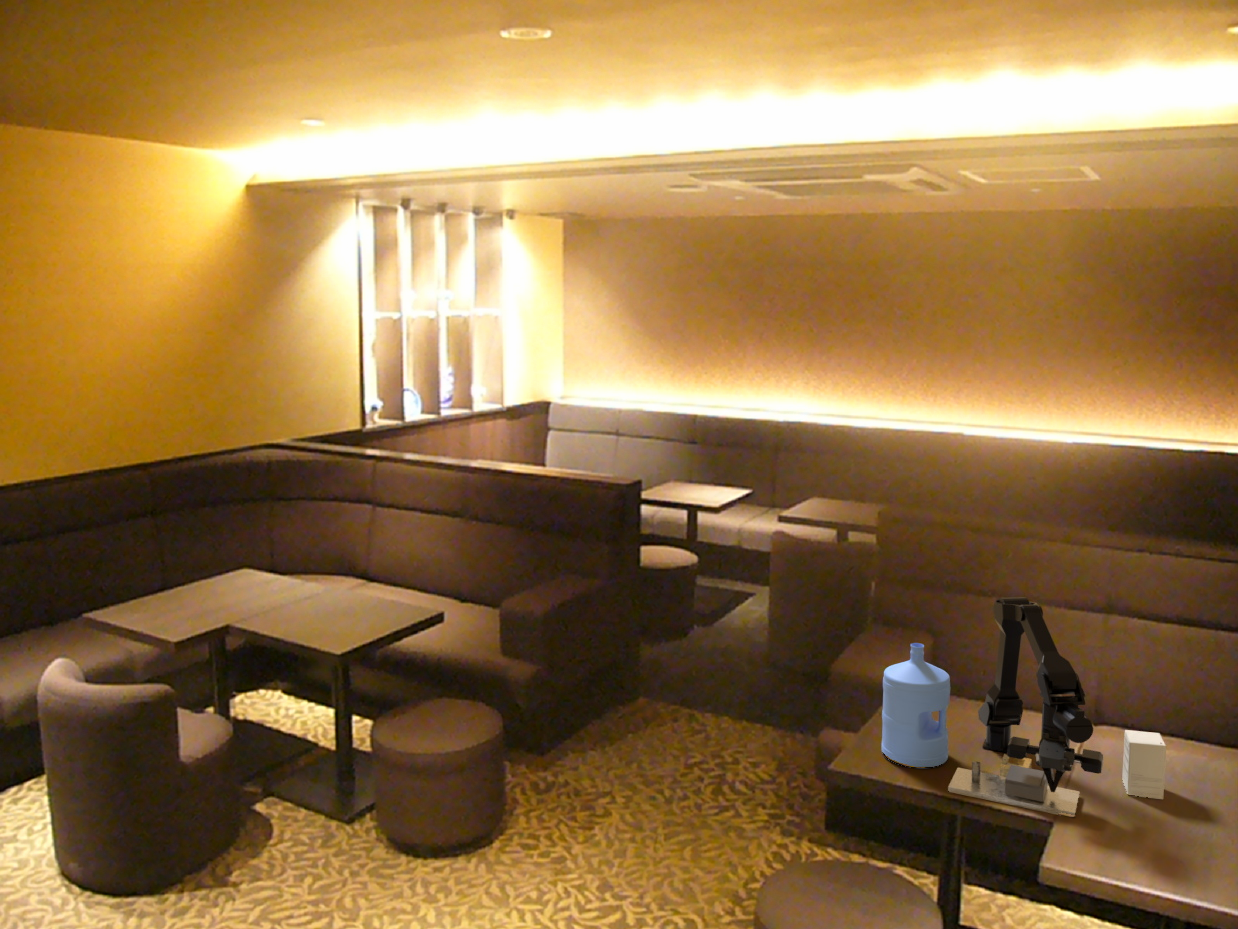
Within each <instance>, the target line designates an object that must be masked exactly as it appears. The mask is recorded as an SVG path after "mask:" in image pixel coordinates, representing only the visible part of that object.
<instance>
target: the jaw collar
mask: <svg viewBox="0 0 1238 929" xmlns="http://www.w3.org/2000/svg"><path fill="white" fill-rule="evenodd" d="M1032 761H1033V760H1032V758H1028V757H1025V758H1023V759H1017V758H1011V757H1008V756H1007V753H1004V754H1003V757H1002V759H1001V761H1000V767H999V768H1000V769H999V776H1004V777H1006V776H1007V774H1008V771H1009V768H1010V766H1011V765H1014V766H1020V767H1025V768H1030V769H1032Z"/></svg>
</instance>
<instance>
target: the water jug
mask: <svg viewBox="0 0 1238 929" xmlns="http://www.w3.org/2000/svg"><path fill="white" fill-rule="evenodd" d="M924 648H925V645H924V644H923V643H919V642H913V643H910V652H909V653H910V658H909V660H906V661H902V662H899V663H895V664H892V665H889V666H888V667H886V668H885V669H884V671H883V678H882V691H883V693H882V694H883V695H882V711H881V718H882V719H881V721H882V733H881V737H882V738H881V753H882V752H883V753H884V754H885V755H886V756H888V757H889V758H890V759H892V760H895V761H897V762H899V763H903V764H907V765H909V766H914V767H933V768H935V767H934V766H937V767H939V765H940V766H942V765H944V764H945V763H946V762H947V760H948V759H949V729H948V728H947V721H948V720H947V715H948V714H947V712H948V711H947V710H948V707H949V705H950V695H951V681H950V680H951V677H950V675H949V673H948V672H946V671H945V670H944V669H942V668H939V667H937V666H935V665H934V664H931V663H929V662H926V661H925V659H924V655H925V651H924ZM934 712H938V721H937V720H935V719H934V717H933V713H934ZM883 753H882V754H883ZM941 764H942V765H941Z"/></svg>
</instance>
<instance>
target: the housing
mask: <svg viewBox="0 0 1238 929" xmlns="http://www.w3.org/2000/svg"><path fill="white" fill-rule="evenodd" d="M1047 787H1048V781H1047V778H1046V775H1045V773H1044V771H1043V770H1039V769H1034V768H1031V769H1030V768H1025V767H1020V766H1014V765H1011V766H1010V768H1009V771H1008V774H1007V776H1006V779H1005V794H1007V795H1012V796H1017V797H1022V798H1026V799H1031V800H1036V801H1041V802H1043V801H1044V797H1045V794H1046V790H1047Z"/></svg>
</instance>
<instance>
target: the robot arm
mask: <svg viewBox="0 0 1238 929" xmlns="http://www.w3.org/2000/svg"><path fill="white" fill-rule="evenodd" d="M1043 610H1044V609H1043V608H1042V606H1041V605H1038V603H1037V602H1033V601H1029V599H1028V598H1027V597H1025V596H1024V597H1023V596H1019V597H1018V596H1017V597H1016V596H1014V597H999V598H998V599H996V600H995V601H994V603H993V607H992V611H993V617H994V621H995V623H996V624H997V626H998V628H999V639H998V641H999V642H998V649H997V660H996V671H995V680H994V684H993V685H992V686H991V687H990V689H989V690H988V691H987V692H986V694H985V695H986V696H985V700H984V703H983V704H982V705H981V706H980V707H979V709H978V710H977V712H978V713H977V714H978V720H979V721H980V722H981V723H982V724H983V725H984V726H985V727H986V729H985V730H986V733H985V739H984V742H983V743H982V747H981V748H983V749H987V750H992V751H998V752H1003V753H1006V754H1007V756H1008V757H1011V758H1017V759H1023V758H1027V755H1033V756H1035V758H1036V759H1035V761H1034V762H1035V763H1034V764H1035V765H1036V766H1038V767H1040V768H1041V769H1042V771H1044V773H1045V775H1046V778H1047V781H1048V785H1049V788H1050V791H1051V792H1055V790H1056V788H1057V787H1059V786H1058V785H1059V783H1060V781H1061V778H1062V777H1063V775H1064V774H1065V773H1066V772H1071V771H1072V769H1073V766H1074V765H1075V763H1077V764H1080V768H1081V769H1082V770H1083V771H1084V772H1088V773H1091V774H1102V770H1103V769H1102V768H1103V764H1104V762H1103V761H1104V754H1103V753H1102V752H1101V751H1096V750H1092V749H1086V748H1083V749H1082V753H1078V752H1076V751H1075V749H1076V748H1074V747H1073V748H1072V747H1070V746H1071V745H1070V743H1071V742H1073V743H1074V744H1075V743H1076V744H1082V743H1085V742H1087V741H1088V740H1090V738H1091V737H1092V736H1093V734H1094V726H1093V723H1092V721H1091V720H1090V719H1089V718H1087V717H1086V716H1085V711H1084V710H1083V709H1082V708H1080V707H1079V706H1086V700H1085V697H1086V693H1085V692H1084V689H1083V685H1082V683H1081V680H1080V678H1079V675H1078V673H1077V672H1076V671H1075V668H1074V667H1073V666H1072V663H1071V662H1070V661H1069V660H1067V659H1066V658H1065V657H1064V656H1062V655H1061V654H1060V652H1059V649H1058V648H1057V646H1056V643H1055V641H1054V638H1053V636H1052V633H1051V632H1050V630H1049V627H1048V625H1047V623H1046V621H1045V618H1044V611H1043ZM1024 633H1025V636H1026V639H1027V640H1028V643H1029V645H1030V647H1031V650H1032V652H1033V655H1034V657H1035V660H1036V663H1037V665H1038V667H1037V670H1036V673H1035V675H1036V680H1037V681H1036V682H1037V685H1038V688H1039V691H1040V693H1039V696H1040V697H1041V698H1042V711H1041V712H1042V713H1041V729H1040V730H1041V732H1040V736H1041V737H1040V740H1039V742H1038V745H1034V744H1033V745H1031V743H1030V738H1024V737H1019V736H1012V726H1020V725H1021V721H1022V716H1023V712H1024V707H1023V704H1024V702H1023V700H1022V698H1021V697H1020V695H1019V693H1018V691H1017V683H1018V682H1017V680H1018V672H1019V662H1020V654H1021V647H1022V646H1021V644H1022V635H1023V634H1024ZM1073 694H1074V695H1073ZM1063 695H1065V696H1063ZM1054 770H1055V774H1054Z"/></svg>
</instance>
